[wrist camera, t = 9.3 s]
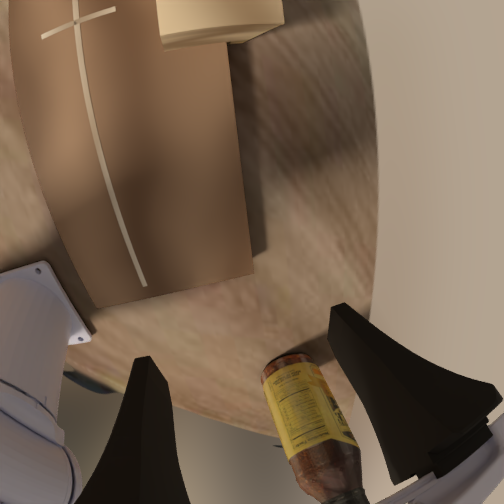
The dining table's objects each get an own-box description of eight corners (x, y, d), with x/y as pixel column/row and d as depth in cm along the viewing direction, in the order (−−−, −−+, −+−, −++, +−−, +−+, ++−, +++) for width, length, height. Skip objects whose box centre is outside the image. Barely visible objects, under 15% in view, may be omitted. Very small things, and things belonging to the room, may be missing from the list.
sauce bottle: (309, 374, 32) (377, 520, 16) (258, 388, 31) (315, 546, 15) (317, 341, 28) (405, 514, 12) (257, 356, 27) (330, 550, 11)
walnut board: (99, 294, 19) (96, 309, 18) (20, -13, 6) (9, -18, 5) (248, 260, 20) (254, 273, 19) (208, -68, 8) (211, -79, 6)
